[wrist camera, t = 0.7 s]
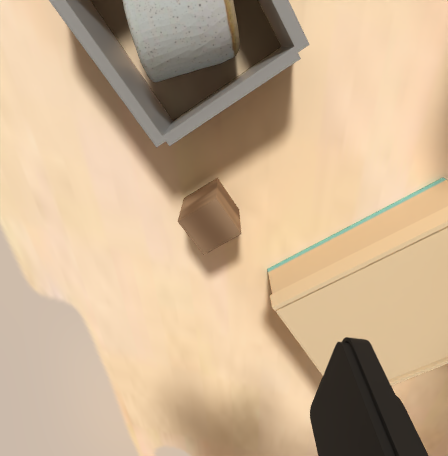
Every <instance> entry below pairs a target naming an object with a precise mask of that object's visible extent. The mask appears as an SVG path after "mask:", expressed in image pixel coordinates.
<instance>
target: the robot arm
mask: <svg viewBox="0 0 448 456" xmlns="http://www.w3.org/2000/svg"><path fill="white" fill-rule="evenodd" d="M310 419H311V424H312V429H313V433H314V438H315V442H316V447H317V451H318V455H319V456H428V454H427V452H426V450H425V448H424V446H423V444H422V442H421V440H420V437H419V435H418V433H417V431H416V429H415V427H414V425H413V423H412V421H411V419H410V417H409V415H408V413H407V411H406V409H405V407H404V405H403V403H402V402H401V400H400V399H399V398H398V397H397V396H396V395H395V393H394V391H393V389H392V387H391V385H390V383H389V381H388V379H387V377H386V374H385V372H384V370H383V368H382V366H381V364H380V362H379V360H378V358H377V356H376V354H375V352H374V349H373V347H372V345H371V344H370V342H369V341H368V340H365V339H357V338H349V337H345V338H344V339H343V341H342V342H337V343H336V345H335V348H334V350H333V353H332V355H331V358H330V360H329V363H328V365H327V368H326V370H325V373H324V375H323V378H322V380H321V382H320V385H319V387H318V390H317V392H316V395H315V397H314V400H313V402H312V405H311V409H310Z"/></svg>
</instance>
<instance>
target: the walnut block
mask: <svg viewBox="0 0 448 456" xmlns="http://www.w3.org/2000/svg"><path fill="white" fill-rule="evenodd" d="M178 222H179V224H180V225H181V226H182V228H183V229H184V230H185V231H186V233H187V234H188V235H189V237H190V238H191V239H192V241H193V242H194V243H195V244H196V246H197V247H198V248H199V250H200V251H201V252H202V253H203V255H204V254H206V253H208V252H210V251H212V250H213V249H215V248H217V247H219V246H220V245H222V244H224V243H226V242H228V241H229V240H231V239H233V238H235V237H237V236H238V235H240V234H241V226H240V215H239V209H238V207H237V206H236V204H235V203H234V201H233V200H232V199H231V197H230V196H229V194H228V193H227V191H226V190H225V188H224V187H223V185H222V184H221V182H220V181H219V179H218V178H216V179H215V180H213V181H211V182H210V183H208V184H207V185H205V186H203V187H202V188H200V189H198V190H197V191H195V192H194V193H192V194H190V195H189V196H187V197H185V198H184V200H183V204H182V207H181V211H180V215H179V219H178Z"/></svg>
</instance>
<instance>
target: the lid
mask: <svg viewBox="0 0 448 456" xmlns="http://www.w3.org/2000/svg"><path fill="white" fill-rule="evenodd" d="M270 299H271V305H272V308H273V309H274V311H275V310H276V313H277V314H278V315H279V317H280V318H281V319H282V321H283V322H284V324H285V325H286V326H287V328H288V329H289V330H290V332H291V333H292V335H293V336H294V337H295V339H296V340H297V341H298V343H299V344H300V345H301V347H302V348H303V350H304V351H305V352H306V354H307V355H308V356H309V358H310V359H311V361H312V362H313V363H314V365H315V366H316V367H317V369H318V370H319V371H320V373H321V374H322V376H323V375H324V373H325V370H326V368H327V365H328V363H329V360H330V358H331V355H332V353H333V350H334V348H335V345H336V343H337V342H342V341H343V339H344V338H345V337H349V338H357V339H365V340H368V341H369V342H370V344H371V345H372V347H373V349H374V352H375V354H376V356H377V358H378V360H379V362H380V364H381V366H382V368H383V370H384V372H385V374H386V377H387V379H388V381H389V383H390V385H391V386H392V385H395V384H398V383H400V382H403V381H405V380H408V379H410V378H413V377H415V376H418V375H420V374H423V373H425V372H428V371H431V370H433V369H436V368H438V367H441V366H443V365H446V364H448V206H447V207H445V208H443V209H441V210H439V211H437V212H435V213H433V214H431V215H429V216H427V217H425V218H423V219H421V220H419V221H417V222H415V223H413V224H411V225H409V226H407V227H405V228H403V229H401V230H399V231H397V232H395V233H393V234H391V235H389V236H387V237H385V238H383V239H381V240H379V241H377V242H375V243H373V244H371V245H369V246H367V247H365V248H363V249H361V250H359V251H357V252H355V253H353V254H351V255H349V256H347V257H345V258H343V259H341V260H339V261H337V262H335V263H333V264H331V265H329V266H327V267H325V268H323V269H321V270H319V271H317V272H315V273H313V274H311V275H309V276H307V277H305V278H303V279H301V280H299V281H297V282H295V283H293V284H291V285H289V286H287V287H285V288H283V289H281V290H279V291H277V292H275V293H273V294H271V295H270Z"/></svg>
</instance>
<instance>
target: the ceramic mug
mask: <svg viewBox="0 0 448 456" xmlns="http://www.w3.org/2000/svg"><path fill="white" fill-rule="evenodd" d="M123 5H124V10H125V14H126V19H127V21H128V25H129V28H130V32H131V35H132V38H133V41H134V44H135V47H136V50H137V53H138V56H139V58H140V61H141V63H142V66H143V68H144V69H145V71H146V73H147V75H148V77H149V78H150V79H151V80H152V81H153V82H159V81H162V80H166V79H169V78H172V77H175V76H179V75H182V74H186V73H190V72H193V71H195V70H199V69H202V68H206V67H209V66H213V65H217V64H220V63H223V62H225V61H227V60H229V59H231V58H233V57H234V56H236V54H237V53H238V51H239V49H240V39H239V31H238V24H237V19H236V13H235V7H234V2H233V0H123Z"/></svg>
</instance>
